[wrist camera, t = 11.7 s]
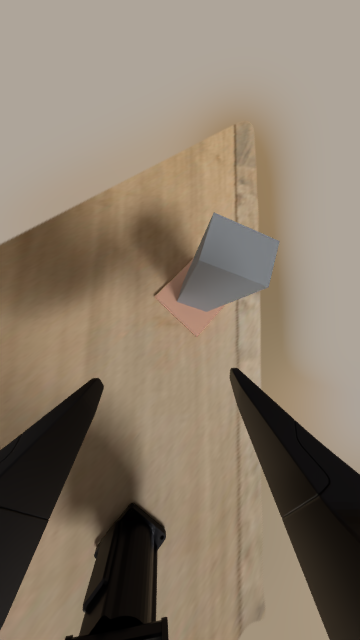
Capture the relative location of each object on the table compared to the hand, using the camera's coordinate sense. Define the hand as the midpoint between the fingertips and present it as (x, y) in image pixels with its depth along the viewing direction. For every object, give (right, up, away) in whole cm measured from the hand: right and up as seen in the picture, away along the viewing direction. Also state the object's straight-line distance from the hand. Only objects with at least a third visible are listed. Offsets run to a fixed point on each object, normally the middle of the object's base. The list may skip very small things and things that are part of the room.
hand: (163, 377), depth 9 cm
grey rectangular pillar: (+3, +8, +12) cm, 14 cm away
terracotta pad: (+3, +8, +12) cm, 15 cm away
